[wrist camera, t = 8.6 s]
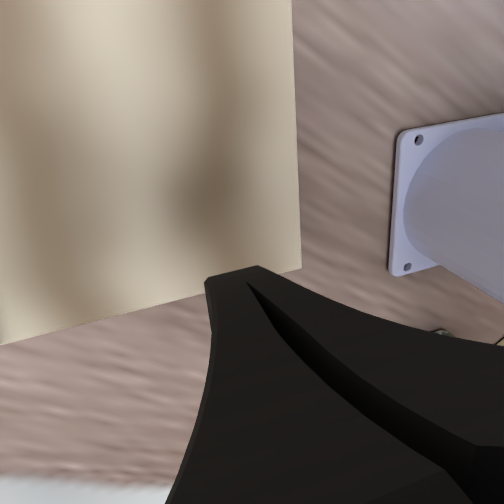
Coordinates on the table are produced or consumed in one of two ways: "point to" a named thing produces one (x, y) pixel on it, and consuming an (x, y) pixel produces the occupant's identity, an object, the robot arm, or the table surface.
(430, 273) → the table surface
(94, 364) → the table surface
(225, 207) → the stool seat
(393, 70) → the table surface
